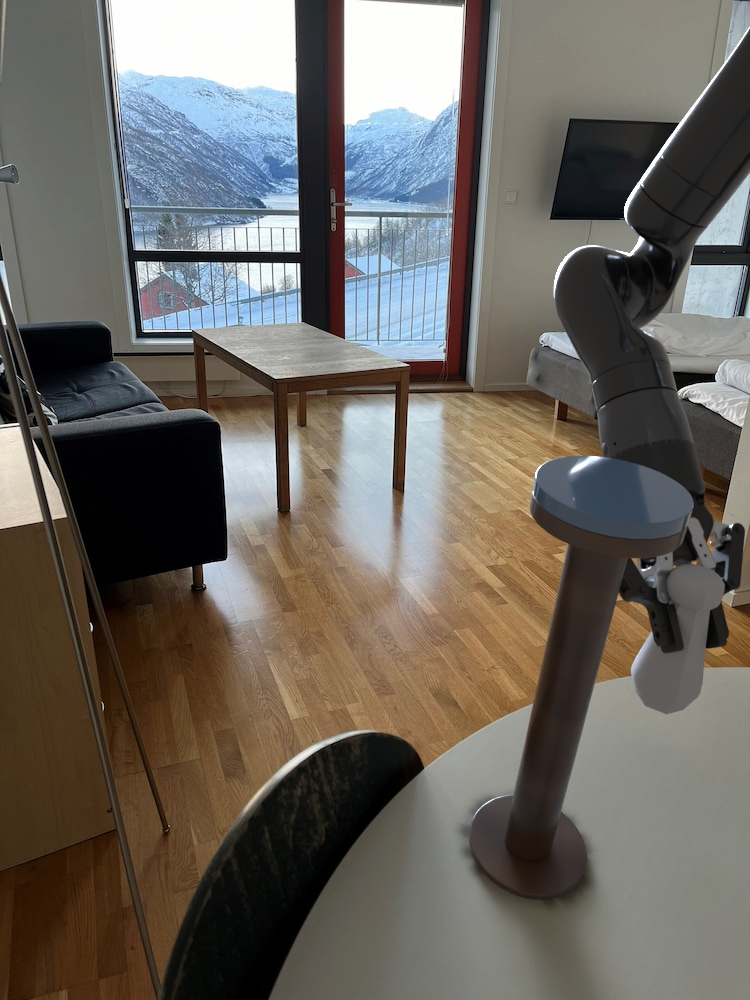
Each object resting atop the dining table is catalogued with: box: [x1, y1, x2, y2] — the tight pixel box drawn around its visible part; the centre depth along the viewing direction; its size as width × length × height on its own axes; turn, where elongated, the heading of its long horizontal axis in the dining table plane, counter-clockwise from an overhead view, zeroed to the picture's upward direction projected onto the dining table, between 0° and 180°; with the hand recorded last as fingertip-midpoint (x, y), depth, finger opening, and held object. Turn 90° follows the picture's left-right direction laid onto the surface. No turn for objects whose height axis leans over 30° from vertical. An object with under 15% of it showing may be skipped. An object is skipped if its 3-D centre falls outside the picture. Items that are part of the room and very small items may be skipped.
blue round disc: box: [532, 455, 694, 539], centre depth 43 cm, size 9×9×1 cm
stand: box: [468, 490, 689, 901], centre depth 51 cm, size 9×9×31 cm
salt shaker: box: [630, 563, 725, 715], centre depth 62 cm, size 6×6×13 cm
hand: (694, 648), depth 60 cm, fingers closed on salt shaker, 3 cm apart
